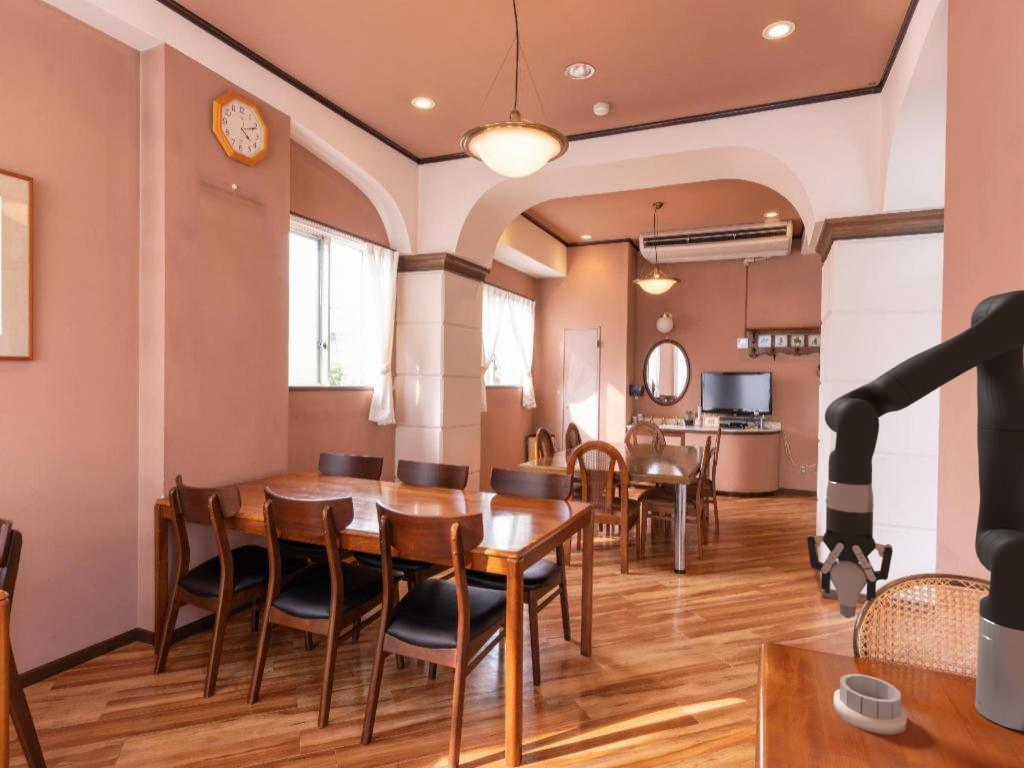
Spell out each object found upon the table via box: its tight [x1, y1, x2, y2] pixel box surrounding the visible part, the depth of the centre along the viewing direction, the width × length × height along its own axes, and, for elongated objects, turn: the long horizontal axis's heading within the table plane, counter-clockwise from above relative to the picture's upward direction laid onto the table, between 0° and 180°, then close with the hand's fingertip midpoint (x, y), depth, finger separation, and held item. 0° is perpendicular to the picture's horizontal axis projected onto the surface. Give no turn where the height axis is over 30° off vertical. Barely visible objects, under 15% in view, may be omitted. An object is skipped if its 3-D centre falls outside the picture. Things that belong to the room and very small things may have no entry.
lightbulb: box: [829, 559, 868, 619], centre depth 109 cm, size 6×6×11 cm
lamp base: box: [832, 673, 908, 736], centre depth 104 cm, size 11×11×5 cm
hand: (847, 595), depth 109 cm, fingers closed on lightbulb, 6 cm apart
